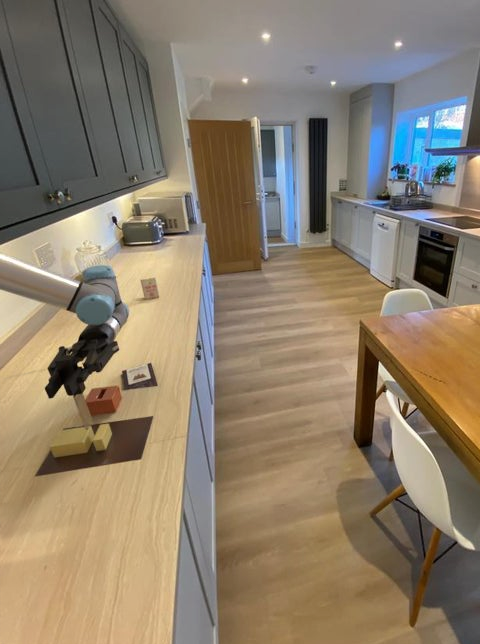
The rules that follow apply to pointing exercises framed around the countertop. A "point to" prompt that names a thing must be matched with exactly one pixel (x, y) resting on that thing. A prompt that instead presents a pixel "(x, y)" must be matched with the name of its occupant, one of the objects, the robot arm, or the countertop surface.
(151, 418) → the board
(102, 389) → the knife stand
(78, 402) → the knife
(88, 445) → the butter
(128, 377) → the chocolate bar
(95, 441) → the butter slice
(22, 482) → the countertop surface
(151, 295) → the tea bag
